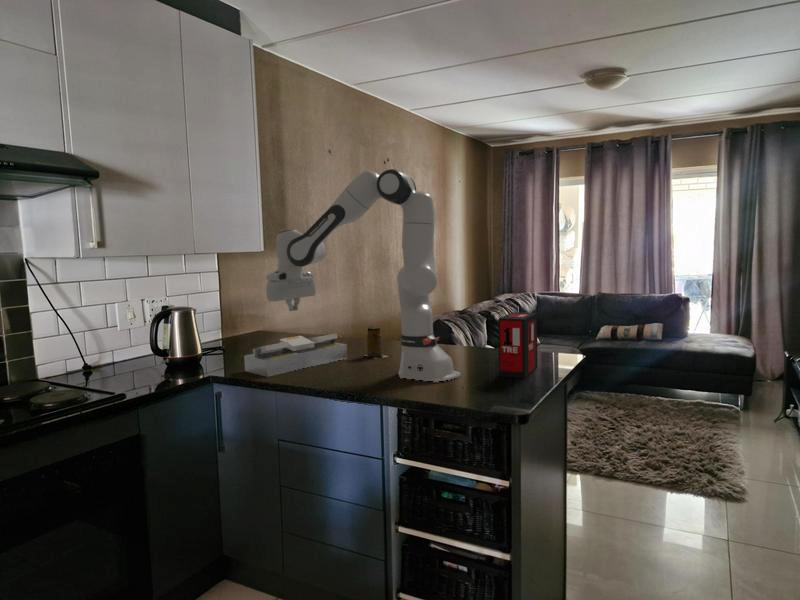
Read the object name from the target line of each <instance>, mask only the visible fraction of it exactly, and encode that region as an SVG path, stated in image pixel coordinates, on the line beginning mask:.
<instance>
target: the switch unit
mask: <svg viewBox="0 0 800 600" xmlns="http://www.w3.org/2000/svg"><path fill="white" fill-rule="evenodd" d="M308 339H309V338H308ZM309 340H311V341H312V339H309ZM347 346H348V345H347V343H340V342H336V338H335V339H330V340H326V341H320V342H315V344H314V347H313V348H307V349H302V350H297V351H292V350H290V349H288V348H287V347H286V348H283V349H279V350H275V351H270V352H264V353H260V349H259V347H256V348H255V347H254V349H255V354H254V353H251V354H246V355H244V357H243V359H244V371H245V372H247V373H250V374H255V375H259V376H263V377H267V378H269V377H274V376H278V375H282V374H286V373H291V372H295V371H294V370H296V371H299V370H298V369H300V370H303V369H302V368H305V369H308V368H307V367H309V368H312V367H311V366H313V367H317V365H318V366H321V364H322V365H327V364H330V362H331V363H335V362H338V360H340V361H344V360H348V347H347ZM343 359H344V360H343ZM334 361H335V362H334ZM290 371H291V372H290Z"/></svg>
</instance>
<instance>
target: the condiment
mask: <svg viewBox="0 0 800 600" xmlns="http://www.w3.org/2000/svg"><path fill="white" fill-rule="evenodd" d="M382 339H383V337H382V334H381V327H377V326H373V327H372V326H371V327H370V326H369V327H368V328H367V335H366V351H367V352H366V354H367V355H368V357H370V358H369V359H372V358H371V357H381V356H382V355H383V357H382V358H381V359H384V358H389V356H388V355H385V354H383V350H382V349H383V345H382V344H383V342H382ZM367 355H365V356H367ZM368 357H367V358H368ZM373 359H375V360H378V359H379V358H373Z"/></svg>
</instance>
